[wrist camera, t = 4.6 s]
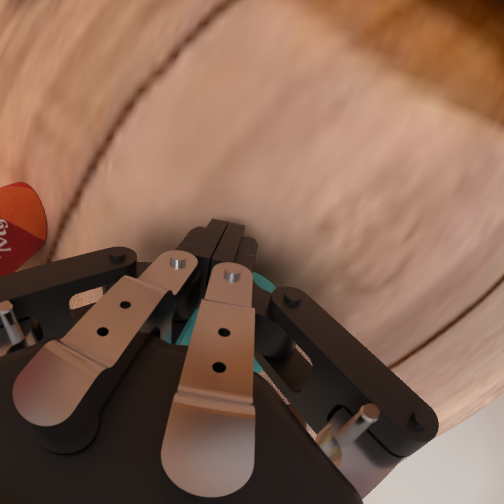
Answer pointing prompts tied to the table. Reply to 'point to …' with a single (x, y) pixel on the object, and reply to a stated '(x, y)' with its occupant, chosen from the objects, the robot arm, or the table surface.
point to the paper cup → (20, 226)
